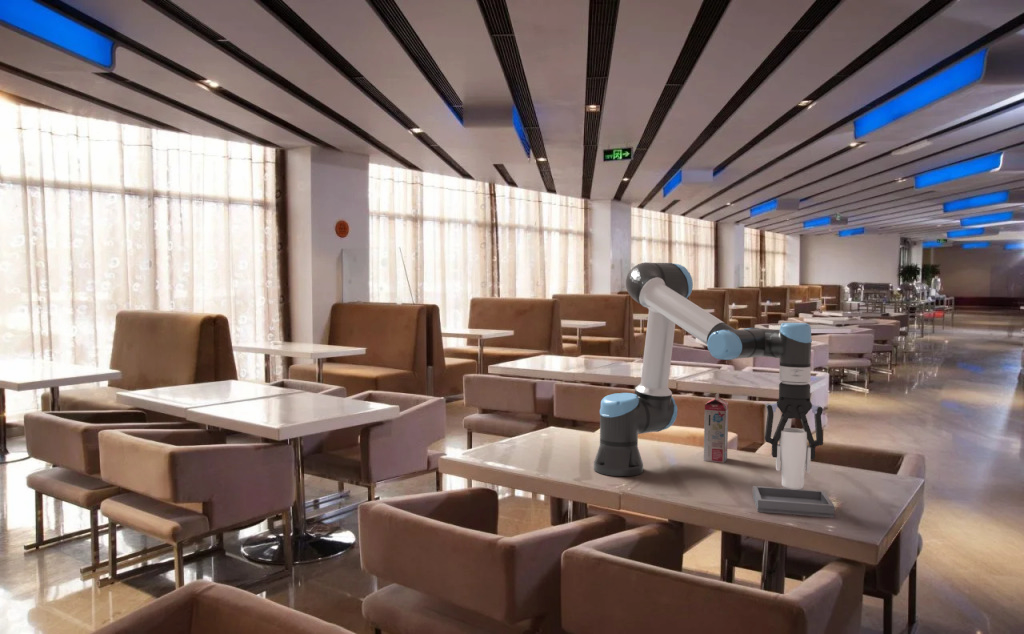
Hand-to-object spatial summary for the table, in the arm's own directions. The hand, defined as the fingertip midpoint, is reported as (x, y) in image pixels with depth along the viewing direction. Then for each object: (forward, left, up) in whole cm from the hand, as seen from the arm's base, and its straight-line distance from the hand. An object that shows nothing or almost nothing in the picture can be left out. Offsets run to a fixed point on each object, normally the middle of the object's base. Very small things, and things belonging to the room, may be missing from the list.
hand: (792, 470), depth 182 cm
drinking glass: (0, 0, -5) cm, 5 cm away
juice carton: (-17, +47, -10) cm, 51 cm away
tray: (0, 0, -10) cm, 10 cm away
